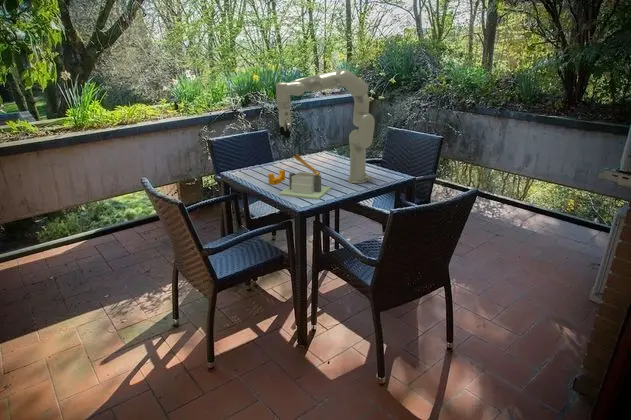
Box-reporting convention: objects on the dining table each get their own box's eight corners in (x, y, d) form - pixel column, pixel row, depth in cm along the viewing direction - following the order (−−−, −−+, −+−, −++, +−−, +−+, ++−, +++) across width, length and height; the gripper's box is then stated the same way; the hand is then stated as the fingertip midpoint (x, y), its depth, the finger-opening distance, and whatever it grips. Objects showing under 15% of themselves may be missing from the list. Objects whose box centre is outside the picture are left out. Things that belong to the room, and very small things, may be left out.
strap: (319, 174, 238) (321, 172, 237) (316, 176, 234) (317, 175, 233) (295, 155, 239) (297, 153, 239) (292, 157, 235) (293, 155, 234)
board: (330, 189, 247) (330, 171, 243) (318, 199, 229) (318, 181, 226) (293, 185, 255) (293, 168, 252) (279, 195, 238) (278, 177, 234)
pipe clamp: (273, 185, 257) (273, 175, 254) (268, 184, 259) (268, 173, 257) (287, 180, 265) (286, 170, 263) (282, 179, 268) (281, 169, 266)
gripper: (294, 106, 225) (295, 138, 231) (286, 103, 240) (287, 133, 246) (281, 107, 223) (282, 139, 229) (273, 104, 238) (275, 134, 244)
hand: (285, 136), depth 237 cm, fingers open, 9 cm apart
